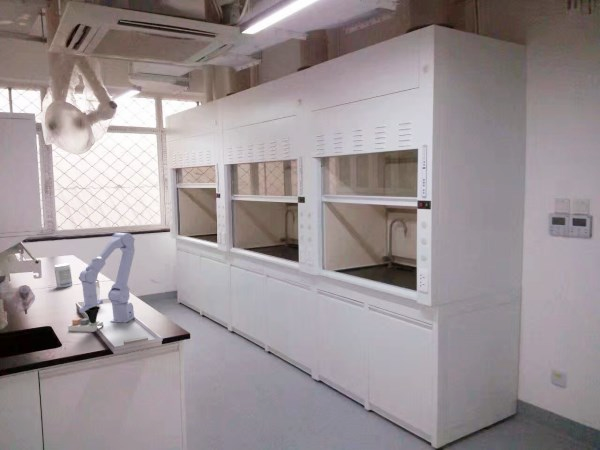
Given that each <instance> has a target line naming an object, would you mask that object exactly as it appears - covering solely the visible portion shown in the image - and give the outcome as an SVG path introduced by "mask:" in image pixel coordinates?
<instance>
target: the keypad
mask: <svg viewBox="0 0 600 450" xmlns="http://www.w3.org/2000/svg"><path fill="white" fill-rule="evenodd" d="M97 322H98V324H96V325H89V324H88V325H81V324H79V325H73V324H72V323H71V324H69V325H67V330H68V332H89V333H90V332H91V333H92V332H96V331H97V330H96V329H97V326H102V325H103V326H104V322H103V321H97ZM90 323H91V322H90Z"/></svg>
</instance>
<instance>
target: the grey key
mask: <svg viewBox="0 0 600 450" xmlns="http://www.w3.org/2000/svg"><path fill="white" fill-rule="evenodd" d="M89 323H90V320H89V318H86V317H84V318H82V320H80V324H81V325H88V324H89Z"/></svg>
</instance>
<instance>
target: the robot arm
mask: <svg viewBox="0 0 600 450" xmlns="http://www.w3.org/2000/svg"><path fill="white" fill-rule="evenodd" d="M135 240H136V239H135V237H134V236H133V235H132V234H131V233H129V232H126V233H125V232H124V233H123V232H114V233H113V234H112V236H111V237H110V238H109V241H108V243H107V245H106V246H105V247H104V249H103V250H102V251H101V253H100V254H99V256H95V257H93V258H92V259H91V262H90V263H89V264H88V265H87V266H86V267H85V269H83V270H82V271H81V272H80V273H79V276H78V280H79V281H80V282H81V285H82V294H83V301H84V303H82V304H83V305H82V306H81V307H79V308H78V309H79V313H80V314H81V313H85V314H86V316H87V317H88V318H89V320H90V322H91V323H95V322H96V321H97V317H98V313H99V310H100V308H101V307H97V305H99V304H101V305H102V304H104V302H103V301H104V300H103V299H100V300H97V293H96V284H95V281H96V280H98V275H99V273H100V272H101V271H102V269H103V268H104V267H105V265H106V260H107V259H108V258H110V256H111V255H112V253H114V251H115V250H116V249H120V250H121V252H122V253H121V259H120V262H119V267H118V269H117V270H118V271H117V275H116V281H115V283H113V284H112V285H111V288H110V290H108V294H107V297H108V300H109V301H110V302H111V307H112V316H113V317H112V318H113V319H111V320H110V321H109V322H110V323H112V322H113V323H127V322H130V321H131V320H133V319H135V318H136V316H135V313H134V312H135V311H134V305H133V303H132V302H128V301H129V300H130V287H129V285H128V282H129V277H130V273H131V269H132V264H133V259H134V255H135V250H136V249H135Z"/></svg>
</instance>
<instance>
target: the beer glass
mask: <svg viewBox="0 0 600 450" xmlns="http://www.w3.org/2000/svg"><path fill="white" fill-rule="evenodd" d="M99 281H100V280H99V279H97V280H96V281H95V284H96V293H97V300H101V299H100V296H101V295H100V294H101V288H100V287H101V286H100V282H99ZM97 307H100V308H101V307H102V304H99V305H97Z"/></svg>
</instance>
